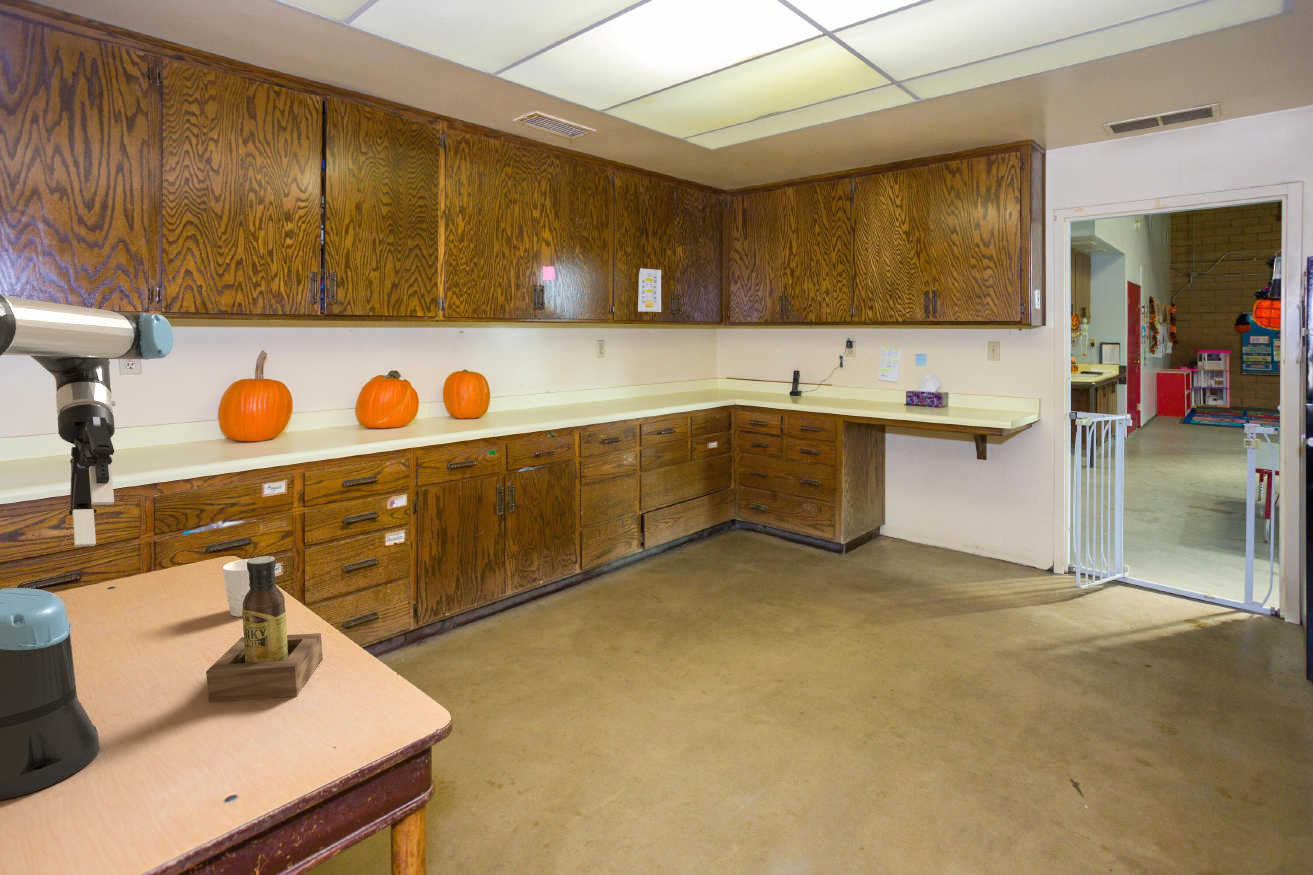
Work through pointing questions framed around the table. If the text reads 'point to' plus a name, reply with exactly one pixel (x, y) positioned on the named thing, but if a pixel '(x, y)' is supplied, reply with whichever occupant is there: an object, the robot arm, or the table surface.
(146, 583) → the table surface
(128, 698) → the table surface
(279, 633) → the sauce bottle
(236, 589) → the white cup
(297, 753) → the table surface
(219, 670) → the crate
